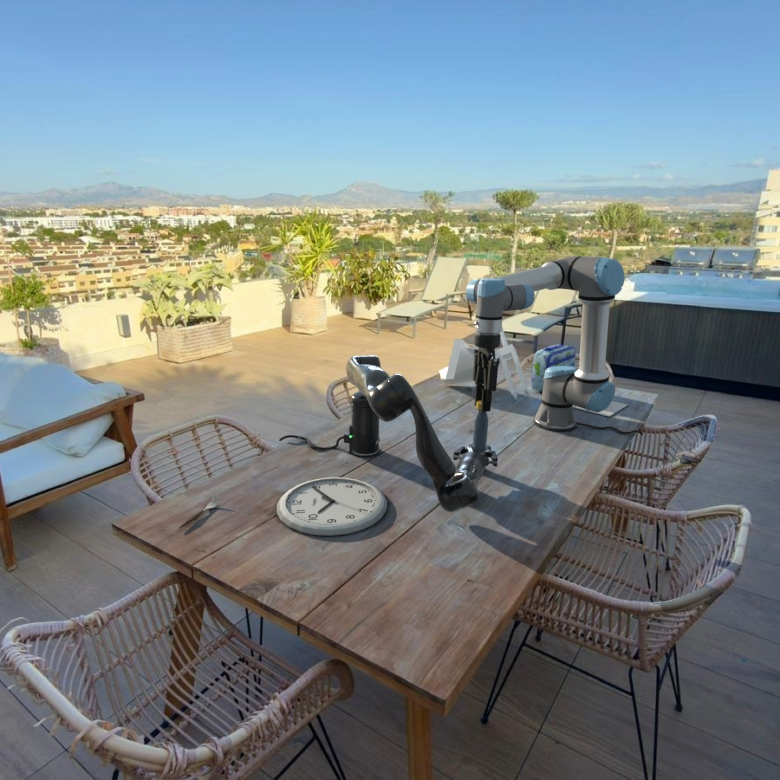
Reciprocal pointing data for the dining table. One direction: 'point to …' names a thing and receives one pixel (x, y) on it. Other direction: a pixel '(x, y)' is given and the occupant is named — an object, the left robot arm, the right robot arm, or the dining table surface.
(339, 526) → the wall clock
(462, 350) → the white plastic object
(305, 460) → the dining table surface
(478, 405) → the cap
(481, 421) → the bottle
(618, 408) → the invitation card
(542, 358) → the lunch box
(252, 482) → the dining table surface
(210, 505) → the fork
